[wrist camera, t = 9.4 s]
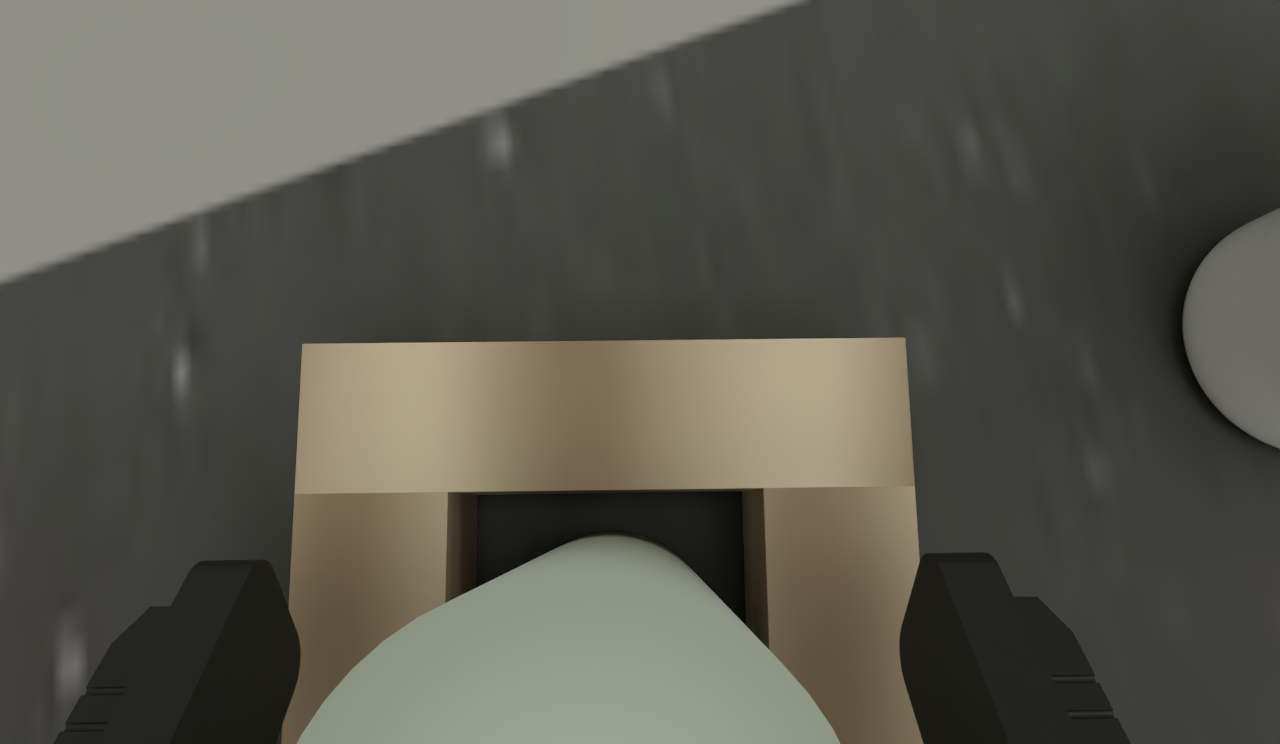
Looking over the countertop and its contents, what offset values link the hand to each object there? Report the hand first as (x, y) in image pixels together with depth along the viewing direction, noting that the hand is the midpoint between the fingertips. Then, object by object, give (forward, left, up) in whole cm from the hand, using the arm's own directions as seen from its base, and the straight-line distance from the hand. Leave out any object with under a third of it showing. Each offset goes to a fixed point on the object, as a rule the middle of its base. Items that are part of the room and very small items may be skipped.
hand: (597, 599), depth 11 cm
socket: (0, +1, -7) cm, 7 cm away
